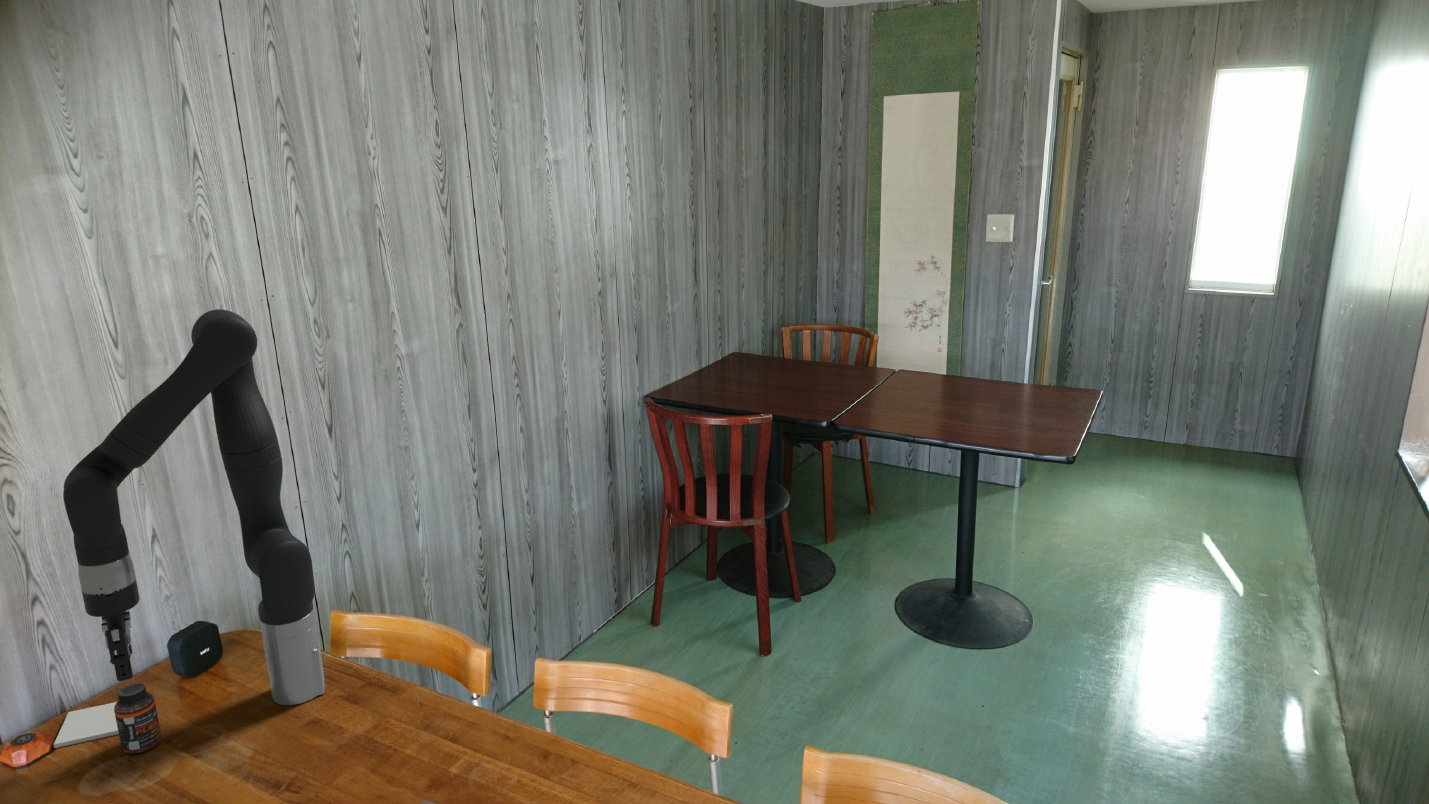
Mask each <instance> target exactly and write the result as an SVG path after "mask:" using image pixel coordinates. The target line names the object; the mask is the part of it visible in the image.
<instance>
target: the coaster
mask: <svg viewBox="0 0 1429 804" xmlns="http://www.w3.org/2000/svg"><path fill="white" fill-rule="evenodd" d="M117 702H118V701H115V702H110V703H106V704H102V705H96V706H91V707H86V708H81V709H77V710H72V711H68V712H67V715H66V717H65V719H64V722H63V723H62V725H61V728H60V730H59V732H58V735H57V737H56V739H55V740H54V743H53V748H54V749H57V748H62V747H66V746H67V747H68V746H71V745H75V744H80V743H86V742H89V741H94V740H98V739H103V738H107V737H112V736H116V735H119V732H118V728H117V723H116V718H115V713H114V707H115V704H116V703H117Z"/></svg>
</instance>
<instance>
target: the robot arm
mask: <svg viewBox="0 0 1429 804" xmlns="http://www.w3.org/2000/svg"><path fill="white" fill-rule="evenodd" d="M190 337H191V343H192V345H191V347H190V349H189V351H188V352H187V354H186V355H185V357H184V358H183V360H182V361H181V363H180V364H179V365H178V366H177V368H176V369H174V371H173V372H172V373H171V374H170V375H169V376H168V377H167V378H166V379H165V380H164V381H163V382H162V383H161V384H159V385H158V386H157V387H156V388H155V389H154V390H152V391H151V392H150V393H149V394H147V395H146V396H145V397H143V398H142V399H141V400H139V402H138V403H136V405H134V406H133V407H132V408H131V409H130V410H129V411H128V412H127V413H126V414H125V415H124V416H123V417H122V419H120V421H119V422H118V423H117V424H116V425H115V426H114V428H113V429H112V430H111V431H110V432H109V433H108V434H107V436H105V438H104V440H103V441H102V442H101V443H100V444H99V445H98V446H96V447H95V448H94V449H93V450H92V451H89V452H88V454H87V455H86V456H85V457H83V458H82V459H81V460H80V461H79V462H78V463H77V464H76V465H75V466H74V467H73V468H72V470H71V471H70V472H69V474H67V476H66V477H65V480H64V481H63V482H64V483H63V494H62V495H63V496H62V497H63V503H64V508H65V513H66V516H67V518H68V521H69V525H70V528H71V531H72V533H73V545H74V551H75V555H76V560H77V567H78V568H77V569H78V570H77V571H78V580H79V585H80V589H81V595H82V599H83V604H84V610H85V613H86V614H87V615H88V616H91V617H93V618H94V617H95V618H98V617H99V618H100V617H101V632H102V633H103V635H104V640H105V647H106V649H107V650H108V652H109V658H110V660H109V662H110V664H111V665H113V666H114V670H115V675H116V680H117V682H123V681H126V680H131V679H132V678H133V676H134V673H133V667H132V663H131V656H132V654H133V648H132V642H133V641H132V635H131V628H132V622H131V620H132V618H131V612H130V610H131V609H133V608H134V607H136V606H137V605H138V603H139V602H140V600H141V599H140V593H139V588H138V584H137V583H138V582H137V578H136V571H135V566H134V563H133V560H132V557H131V554H130V550H129V544H128V539H127V534H126V531H125V528H124V525H123V523H122V519H121V509H120V504H119V503H120V501H119V495H118V488H119V486H120V485H121V484H122V482H123V481H124V480H125V479H126V478H128V476H129V475H130V474H131V473H132V472H133V471H134V470H135V469H139V468H140V467H142V466H144V465H145V464H146V463H147V462H148V461H149V460H150V459H151V458H152V457H153V456H154V454H155V453H156V452H157V451H158V450H159V449H160V448H161V447H162V445H163V444H164V443H165V442H166V441H167V440H168V438H170V437H171V435H172V434H173V433H174V432H175V431H176V430H177V429H178V427H179V426H180V425H181V424H182V423H183V422H184V421H185V419H186V418H187V417H188V416H189V415H190V414H191V413H192V411H193V410H194V409H195V408H196V407H198V405H199V404H201V402H202V401H203V400H204V399H206V397H207V396H209V394H210V393H211V394H210V395H211V401H212V410H213V411H212V412H213V417H214V418H213V419H214V425H215V430H216V436H217V441H218V445H219V446H218V447H219V451H220V455H221V460H222V462H223V467H224V471H225V473H226V476H227V477H226V478H227V480H228V484H229V487H230V491H231V495H232V497H233V500H234V503H235V505H236V508H237V512H238V516H239V521H240V530H241V537H242V547H243V555H244V560H245V563H246V565H247V567H248V569H249V570H250V572H251V573H253V574H254V575H255V576H256V577H257V578H258V579H259V585H260V591H261V601H260V602H259V603H258V606H257V611H258V618H259V622H260V623H259V624H260V630H261V636H262V642H263V649H264V655H265V662H266V667H267V672H268V680H269V684H270V685H269V686H270V692H271V698H272V700H273V702H274V703H276V704H278V705H280V706H293V705H298V704H303V703H306V702H309V701H310V700H312V699H314V698H316V697H317V696H321V695H324V694H325V672H324V665H323V659H322V658H323V657H322V651H321V650H322V649H321V645H320V644H321V643H320V637H319V636H318V631H317V626H316V622H317V621H316V617H315V610H314V598H315V594H316V593H315V592H316V590H315V580H314V579H315V578H314V568H313V560H312V555H311V552H310V550H309V548H308V547H307V545H306V544H305V543H304V542H303V541H301V540H300V539H299V538H297V537H295V535H293V534H292V532H291V530H290V528H289V526H288V523H287V520H286V517H285V513H284V511H283V507H282V503H281V501H282V500H281V489H282V481H283V476H284V475H283V471H284V467H283V465H284V464H283V457H282V451H281V448H280V443H279V439H278V436H277V432H276V429H275V426H274V423H273V419H272V418H271V415H270V412H269V410H268V408H267V406H266V403H265V401H264V398H263V397H262V394H261V391H260V389H259V387H258V386H259V385H258V383H257V380H256V376H255V375H256V374H255V369H254V363H253V361H254V360H253V357H254V355H255V353H256V351H257V348H258V337H257V334H256V331H255V330H254V328H253V326H252V325H251V323H249V322H248V321H247V320H246V319H245V318H243V317H242V316H241V315H239V314H237V313H236V312H234V311H230V310H226V309H220V308H219V309H211V310H208V311H206V312H204V313H203V314H202V315H200V316H199V317H198V318H197V319H196V320H195V322H194V324H193V327H192V329H191V335H190Z"/></svg>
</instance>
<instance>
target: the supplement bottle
mask: <svg viewBox="0 0 1429 804" xmlns="http://www.w3.org/2000/svg"><path fill="white" fill-rule="evenodd" d="M117 697H118V700H117V701H116V702H117V703H116V704H115V707H114V713H115V718H116V723H117V728H118V732H119V734H118V737H119V742H120V747H121V749H122V751H123V752H124V753H126V754H131V755H133V754H140V753H141V754H142V753H143V752H147V751H149V750H151V749H153V748H155V746H156V745H158V744H159V742H160V741H161V740H162V731H161V727H162V726H161V725H160V721H159V716H158V710H157V704H156V700H155V696H154V695H153V693H150V692H148V691H147V689H146V685H145V684H144V683H142V682H135V683H130V684H127V685H125V686H123V687H121V688H120V689H119V690H118V692H117Z"/></svg>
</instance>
